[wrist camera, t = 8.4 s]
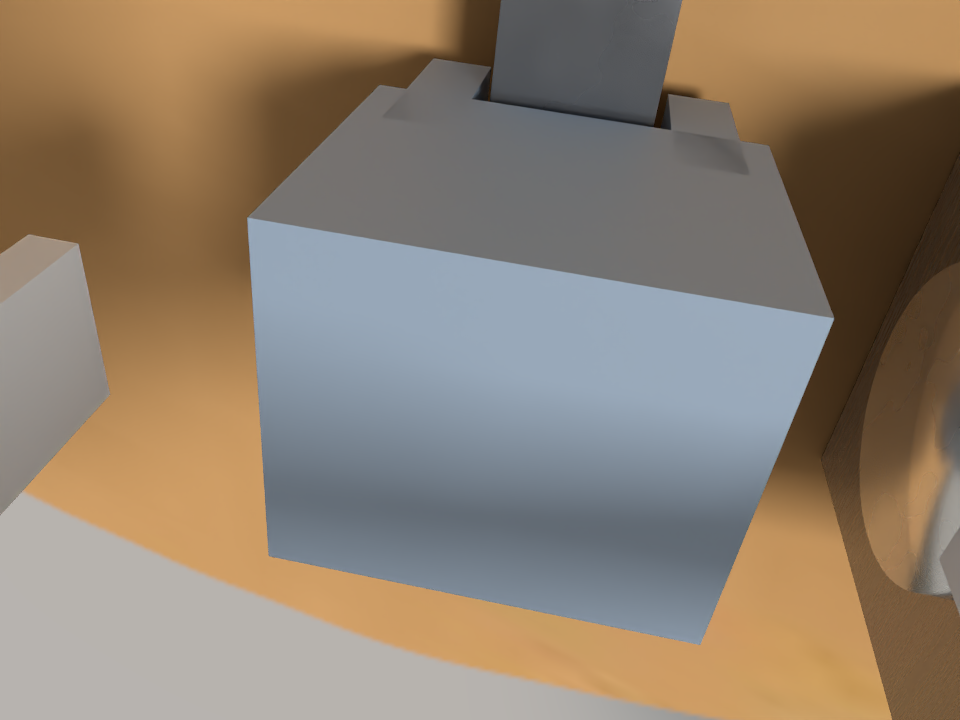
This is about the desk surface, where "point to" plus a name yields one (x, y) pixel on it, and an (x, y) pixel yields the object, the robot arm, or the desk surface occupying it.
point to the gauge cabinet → (908, 476)
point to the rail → (585, 56)
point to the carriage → (530, 350)
